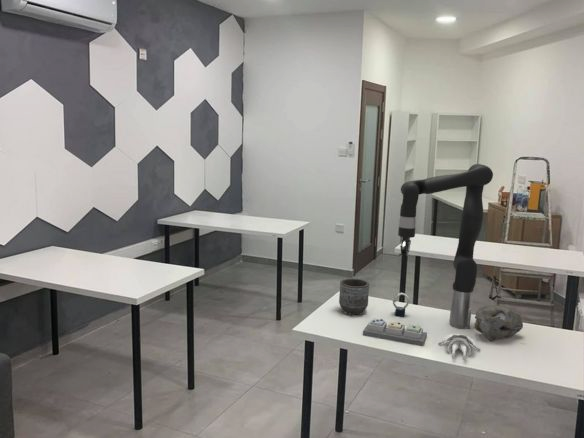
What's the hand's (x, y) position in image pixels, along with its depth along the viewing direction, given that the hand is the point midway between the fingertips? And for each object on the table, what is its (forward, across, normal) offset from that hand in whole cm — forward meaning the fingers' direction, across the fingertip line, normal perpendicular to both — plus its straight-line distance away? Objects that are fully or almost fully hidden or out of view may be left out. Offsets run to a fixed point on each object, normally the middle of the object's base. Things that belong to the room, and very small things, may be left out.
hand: (404, 262), depth 237 cm
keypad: (+29, -17, -1) cm, 34 cm away
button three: (+27, -17, +7) cm, 33 cm away
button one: (+27, -17, -9) cm, 33 cm away
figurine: (+30, -19, -28) cm, 45 cm away
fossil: (+29, +3, -42) cm, 51 cm away
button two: (+27, -17, -1) cm, 32 cm away
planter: (+29, +4, +24) cm, 38 cm away
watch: (+29, +10, +2) cm, 31 cm away
